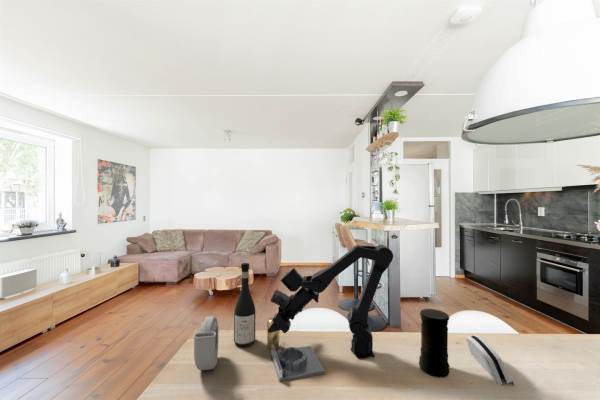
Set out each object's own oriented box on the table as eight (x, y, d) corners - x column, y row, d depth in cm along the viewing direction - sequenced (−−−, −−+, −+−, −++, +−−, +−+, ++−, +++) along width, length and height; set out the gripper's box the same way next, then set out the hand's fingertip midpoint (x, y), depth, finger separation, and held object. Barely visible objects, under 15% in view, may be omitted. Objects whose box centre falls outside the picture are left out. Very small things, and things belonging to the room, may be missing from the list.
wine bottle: (255, 347, 101) (255, 265, 101) (233, 348, 100) (233, 266, 100) (255, 336, 109) (255, 260, 109) (234, 337, 108) (235, 261, 108)
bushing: (278, 343, 104) (278, 316, 104) (280, 349, 99) (280, 321, 99) (266, 344, 103) (266, 317, 103) (268, 350, 98) (268, 322, 98)
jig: (310, 348, 100) (310, 339, 100) (324, 373, 85) (324, 362, 85) (271, 354, 96) (271, 344, 96) (279, 381, 82) (279, 370, 82)
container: (424, 357, 95) (425, 305, 95) (453, 369, 88) (453, 313, 88) (414, 368, 88) (414, 313, 88) (444, 382, 82) (444, 322, 82)
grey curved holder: (202, 352, 97) (203, 310, 97) (221, 351, 98) (222, 309, 98) (192, 384, 80) (192, 333, 80) (215, 382, 81) (215, 331, 81)
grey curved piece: (517, 386, 80) (504, 353, 81) (500, 390, 81) (488, 357, 81) (485, 354, 97) (475, 327, 97) (472, 358, 97) (462, 331, 98)
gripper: (288, 277, 110) (261, 303, 111) (279, 292, 91) (246, 323, 93) (307, 297, 109) (280, 323, 110) (302, 317, 90) (269, 348, 92)
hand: (269, 328), depth 101 cm, fingers closed on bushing, 4 cm apart
